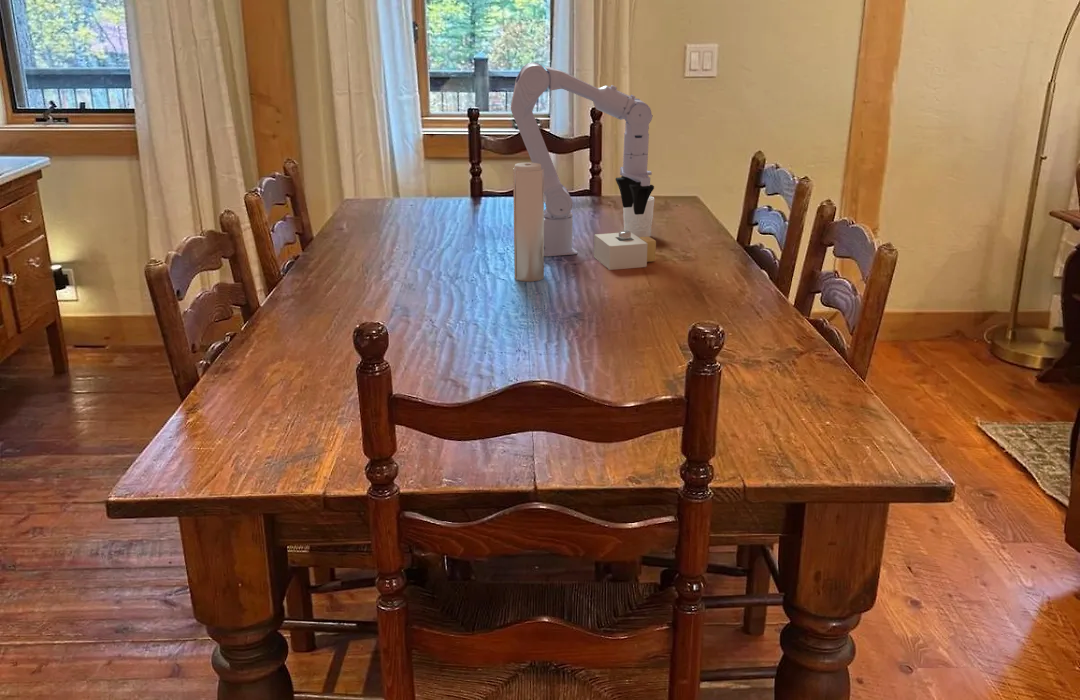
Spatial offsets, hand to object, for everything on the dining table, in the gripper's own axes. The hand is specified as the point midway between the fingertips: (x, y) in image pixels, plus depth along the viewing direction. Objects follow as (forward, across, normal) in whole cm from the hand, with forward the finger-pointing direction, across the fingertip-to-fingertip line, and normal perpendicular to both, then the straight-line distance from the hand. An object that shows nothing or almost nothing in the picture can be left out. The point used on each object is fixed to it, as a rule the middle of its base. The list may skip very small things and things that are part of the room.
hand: (633, 210), depth 224 cm
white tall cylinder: (+10, -15, +30) cm, 35 cm away
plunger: (+5, -9, +5) cm, 11 cm away
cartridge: (+10, -9, +4) cm, 14 cm away
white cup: (+10, +13, -6) cm, 17 cm away
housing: (+10, -9, +6) cm, 15 cm away
